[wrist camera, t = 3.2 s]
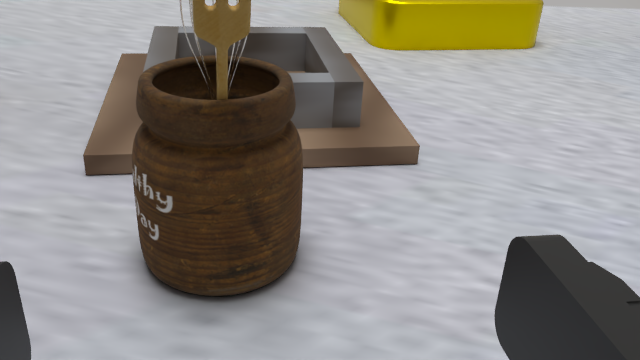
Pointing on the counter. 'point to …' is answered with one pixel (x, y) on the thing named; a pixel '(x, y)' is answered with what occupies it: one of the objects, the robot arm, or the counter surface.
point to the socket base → (310, 93)
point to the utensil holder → (217, 163)
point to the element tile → (444, 23)
